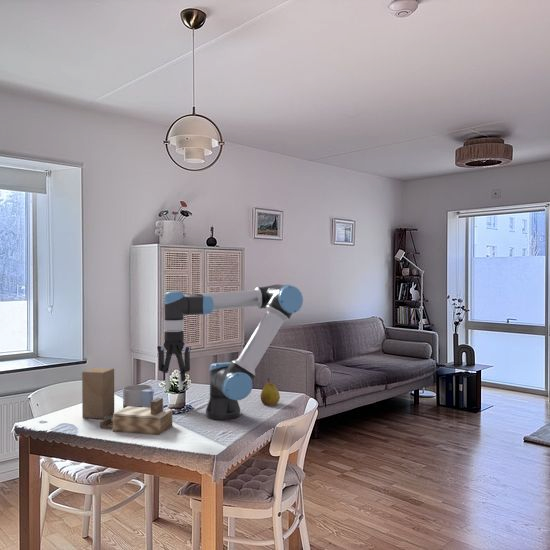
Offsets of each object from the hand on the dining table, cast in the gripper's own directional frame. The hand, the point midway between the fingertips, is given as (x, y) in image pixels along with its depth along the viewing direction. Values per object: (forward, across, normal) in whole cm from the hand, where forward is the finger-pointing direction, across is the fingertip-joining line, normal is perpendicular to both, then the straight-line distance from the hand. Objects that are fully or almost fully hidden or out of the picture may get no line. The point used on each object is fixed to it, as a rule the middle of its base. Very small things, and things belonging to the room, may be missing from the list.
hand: (174, 389), depth 207 cm
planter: (+17, +28, -24) cm, 41 cm away
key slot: (+17, +26, 0) cm, 31 cm away
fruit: (+17, -28, -48) cm, 58 cm away
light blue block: (+17, +18, -14) cm, 29 cm away
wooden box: (+17, +14, 0) cm, 22 cm away
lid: (+11, +13, 0) cm, 17 cm away
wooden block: (+17, +42, -13) cm, 47 cm away
